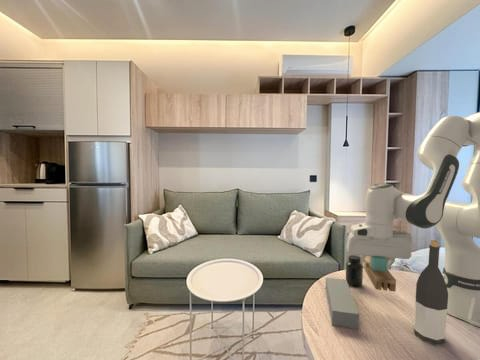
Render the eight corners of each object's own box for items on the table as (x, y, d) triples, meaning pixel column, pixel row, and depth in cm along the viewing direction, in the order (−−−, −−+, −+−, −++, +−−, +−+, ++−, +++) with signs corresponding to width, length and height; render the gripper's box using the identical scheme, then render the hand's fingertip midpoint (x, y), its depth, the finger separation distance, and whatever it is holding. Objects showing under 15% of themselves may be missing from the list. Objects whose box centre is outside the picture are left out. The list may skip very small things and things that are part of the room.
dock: (345, 291, 104) (346, 279, 104) (358, 329, 81) (358, 314, 81) (325, 288, 106) (325, 277, 106) (332, 325, 83) (332, 310, 82)
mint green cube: (383, 266, 89) (383, 255, 89) (386, 271, 85) (387, 260, 85) (370, 265, 90) (371, 254, 90) (373, 270, 86) (374, 258, 86)
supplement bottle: (358, 280, 114) (360, 254, 113) (364, 287, 107) (366, 260, 106) (343, 279, 115) (344, 253, 114) (348, 287, 108) (349, 259, 107)
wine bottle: (421, 343, 75) (427, 244, 72) (407, 325, 83) (413, 236, 80) (451, 346, 73) (459, 246, 71) (435, 328, 81) (441, 237, 79)
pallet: (377, 266, 98) (377, 257, 98) (395, 291, 79) (396, 280, 79) (361, 264, 100) (362, 255, 100) (375, 289, 80) (376, 278, 80)
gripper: (408, 229, 89) (406, 267, 90) (346, 225, 94) (345, 261, 95) (416, 234, 83) (413, 275, 84) (349, 230, 88) (348, 268, 89)
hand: (376, 267), depth 89 cm, fingers closed on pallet, 6 cm apart
